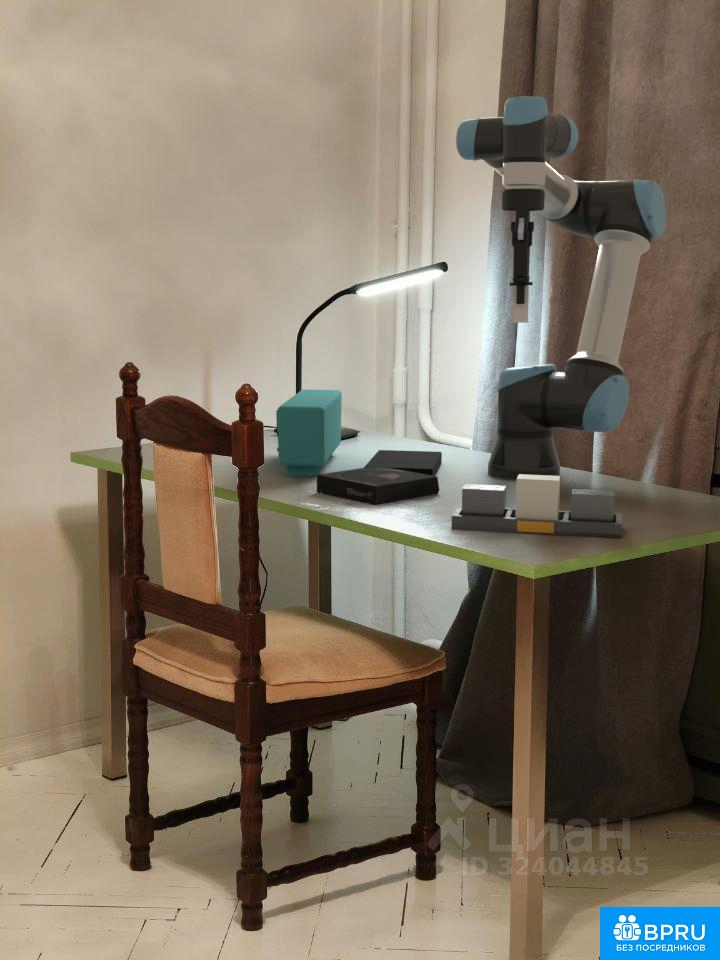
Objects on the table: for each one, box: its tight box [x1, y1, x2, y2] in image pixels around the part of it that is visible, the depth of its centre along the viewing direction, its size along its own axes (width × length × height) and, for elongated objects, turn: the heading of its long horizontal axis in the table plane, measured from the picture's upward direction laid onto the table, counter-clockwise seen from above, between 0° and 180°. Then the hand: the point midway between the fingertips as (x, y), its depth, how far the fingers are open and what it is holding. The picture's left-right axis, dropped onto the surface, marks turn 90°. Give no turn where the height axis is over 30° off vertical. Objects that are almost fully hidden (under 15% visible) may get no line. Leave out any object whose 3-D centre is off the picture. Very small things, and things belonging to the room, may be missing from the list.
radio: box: [275, 389, 343, 476], centre depth 267 cm, size 34×10×15 cm, turn 175°
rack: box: [451, 483, 623, 539], centre depth 207 cm, size 9×28×7 cm, turn 78°
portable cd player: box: [316, 466, 440, 506], centre depth 237 cm, size 16×17×4 cm
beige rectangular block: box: [515, 474, 561, 520], centre depth 207 cm, size 4×7×8 cm, turn 78°
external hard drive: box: [363, 449, 443, 476], centre depth 262 cm, size 14×23×3 cm, turn 172°
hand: (520, 322), depth 221 cm, fingers closed
